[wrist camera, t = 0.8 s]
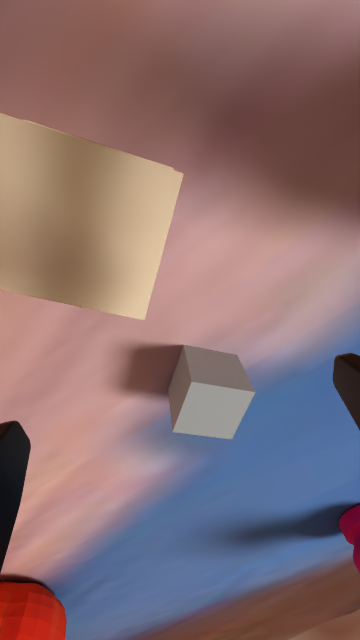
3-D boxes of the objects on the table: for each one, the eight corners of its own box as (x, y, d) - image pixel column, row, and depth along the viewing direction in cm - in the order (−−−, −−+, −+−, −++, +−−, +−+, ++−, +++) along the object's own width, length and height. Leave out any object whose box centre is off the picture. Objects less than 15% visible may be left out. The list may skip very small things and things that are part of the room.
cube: (236, 354, 24) (255, 392, 20) (218, 397, 26) (231, 439, 22) (183, 344, 23) (191, 381, 19) (168, 389, 25) (172, 431, 21)
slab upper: (176, 172, 15) (183, 173, 12) (144, 297, 18) (144, 320, 15) (28, 123, 13) (-1, 112, 11) (19, 268, 16) (-6, 288, 14)
